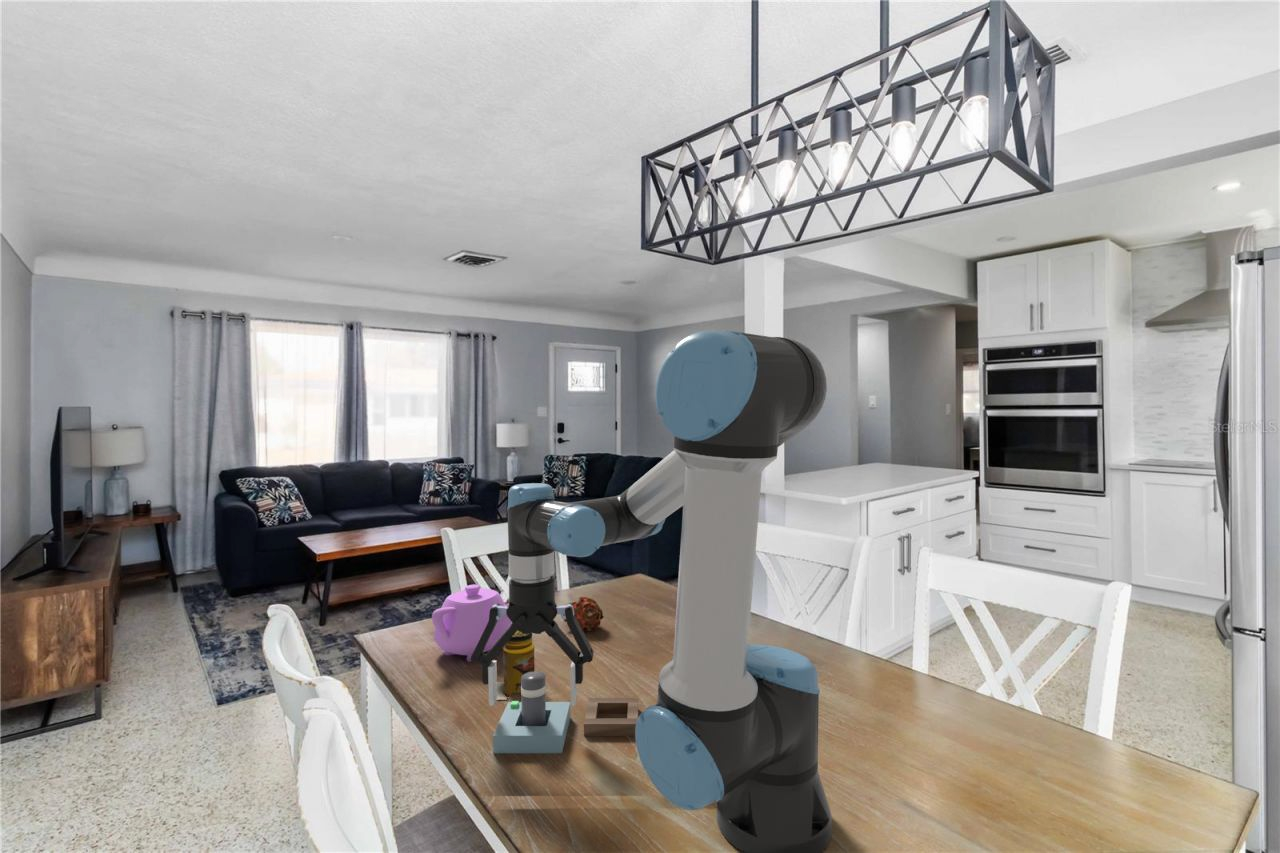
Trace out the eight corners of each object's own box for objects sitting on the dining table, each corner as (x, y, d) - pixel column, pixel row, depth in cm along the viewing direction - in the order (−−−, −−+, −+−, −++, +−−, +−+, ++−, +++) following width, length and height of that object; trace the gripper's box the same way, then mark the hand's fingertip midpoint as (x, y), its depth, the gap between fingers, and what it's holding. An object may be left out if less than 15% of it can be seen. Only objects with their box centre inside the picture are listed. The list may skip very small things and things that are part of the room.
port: (562, 760, 97) (561, 731, 97) (493, 760, 97) (492, 732, 97) (570, 724, 108) (570, 698, 108) (508, 724, 108) (508, 698, 108)
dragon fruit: (599, 641, 150) (568, 636, 158) (617, 614, 155) (585, 610, 163) (581, 619, 146) (550, 614, 154) (599, 591, 152) (568, 588, 160)
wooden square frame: (637, 742, 102) (637, 723, 102) (584, 742, 102) (583, 724, 102) (638, 715, 111) (638, 697, 111) (588, 715, 111) (588, 698, 111)
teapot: (475, 681, 125) (474, 608, 125) (409, 661, 135) (407, 594, 135) (537, 647, 142) (536, 583, 142) (474, 632, 152) (473, 572, 152)
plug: (544, 741, 101) (543, 682, 100) (519, 741, 101) (518, 682, 100) (548, 728, 105) (547, 671, 104) (524, 728, 105) (523, 671, 105)
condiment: (534, 699, 117) (533, 638, 117) (489, 701, 117) (488, 639, 117) (538, 682, 125) (538, 624, 124) (497, 683, 124) (496, 625, 124)
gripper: (607, 570, 105) (608, 691, 106) (463, 570, 106) (465, 691, 106) (605, 583, 98) (606, 712, 99) (450, 583, 98) (452, 713, 99)
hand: (533, 702), depth 103 cm, fingers open, 13 cm apart
